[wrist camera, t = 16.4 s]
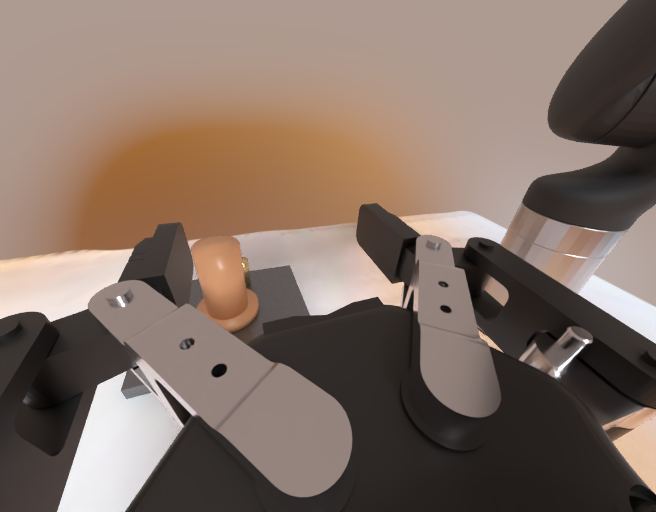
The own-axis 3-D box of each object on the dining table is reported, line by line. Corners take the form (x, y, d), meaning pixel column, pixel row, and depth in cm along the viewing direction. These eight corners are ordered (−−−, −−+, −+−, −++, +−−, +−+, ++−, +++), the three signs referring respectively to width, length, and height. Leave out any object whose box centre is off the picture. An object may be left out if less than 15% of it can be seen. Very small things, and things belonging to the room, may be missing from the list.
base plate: (289, 272, 44) (289, 245, 41) (318, 346, 31) (321, 315, 28) (156, 294, 37) (144, 263, 34) (126, 398, 25) (103, 365, 22)
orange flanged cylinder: (255, 287, 37) (248, 227, 32) (262, 325, 32) (255, 259, 26) (199, 297, 35) (181, 234, 30) (195, 340, 29) (172, 271, 24)
